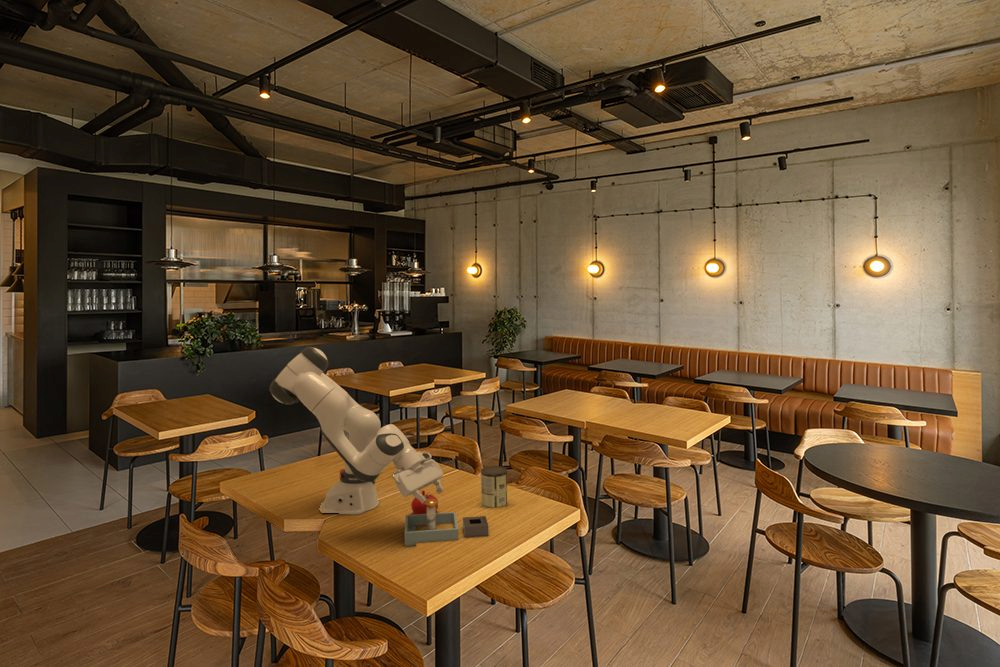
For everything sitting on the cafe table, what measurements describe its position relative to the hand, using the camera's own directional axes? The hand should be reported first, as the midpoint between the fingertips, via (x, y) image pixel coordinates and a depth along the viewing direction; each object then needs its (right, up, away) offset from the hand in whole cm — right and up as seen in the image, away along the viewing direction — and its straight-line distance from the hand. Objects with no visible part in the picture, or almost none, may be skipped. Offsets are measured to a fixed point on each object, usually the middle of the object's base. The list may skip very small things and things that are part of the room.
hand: (433, 496), depth 182 cm
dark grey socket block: (+14, -13, +1) cm, 19 cm away
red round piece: (-5, -12, +18) cm, 23 cm away
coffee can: (+21, -12, +27) cm, 36 cm away
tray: (-1, -13, +1) cm, 13 cm away
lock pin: (-1, -13, +1) cm, 13 cm away
